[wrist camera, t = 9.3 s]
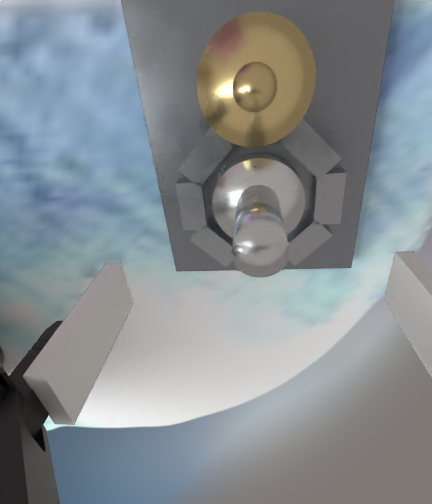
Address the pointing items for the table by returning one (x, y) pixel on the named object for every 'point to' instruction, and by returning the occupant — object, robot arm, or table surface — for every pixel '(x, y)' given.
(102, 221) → the table surface
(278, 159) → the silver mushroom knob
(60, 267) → the table surface
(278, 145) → the carrier plate
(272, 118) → the gold cymbal
